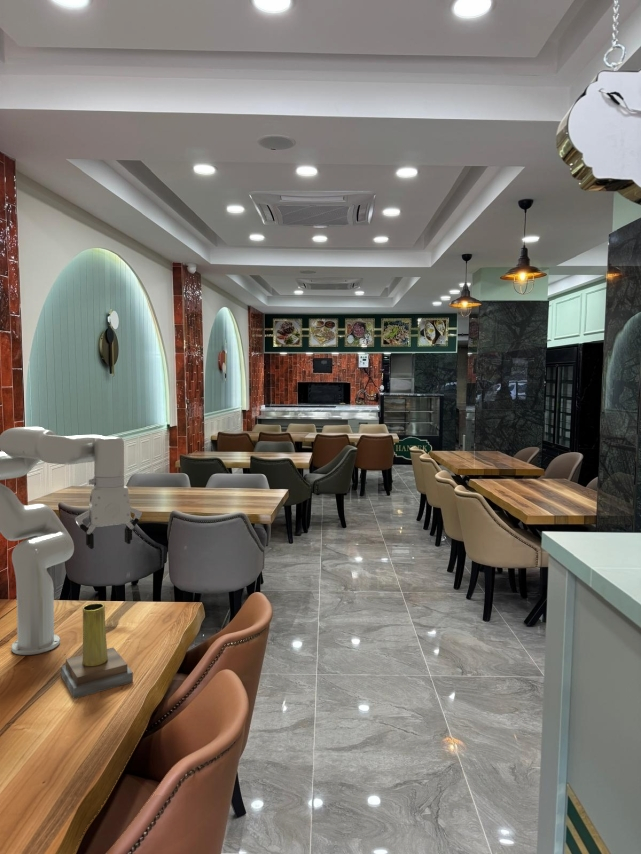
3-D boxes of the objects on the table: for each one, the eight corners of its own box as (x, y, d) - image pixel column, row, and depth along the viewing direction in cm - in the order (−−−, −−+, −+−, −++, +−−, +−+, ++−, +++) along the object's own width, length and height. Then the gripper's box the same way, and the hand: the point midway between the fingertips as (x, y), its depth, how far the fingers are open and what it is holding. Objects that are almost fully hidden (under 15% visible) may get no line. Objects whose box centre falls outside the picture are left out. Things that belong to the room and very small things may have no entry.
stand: (61, 675, 146) (60, 658, 146) (116, 661, 155) (116, 645, 154) (74, 698, 135) (73, 680, 135) (132, 682, 143) (132, 664, 143)
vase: (93, 669, 140) (91, 612, 140) (76, 663, 143) (75, 608, 143) (113, 659, 146) (111, 604, 145) (96, 653, 149) (95, 600, 148)
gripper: (78, 486, 144) (78, 553, 145) (145, 482, 154) (145, 544, 155) (71, 483, 150) (72, 546, 151) (137, 478, 160) (137, 538, 161)
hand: (109, 545), depth 153 cm, fingers open, 9 cm apart
